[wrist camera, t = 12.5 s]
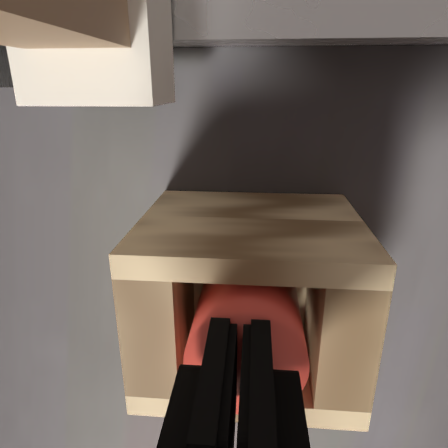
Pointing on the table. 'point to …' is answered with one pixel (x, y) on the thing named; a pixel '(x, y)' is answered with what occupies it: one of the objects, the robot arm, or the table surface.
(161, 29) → the carriage
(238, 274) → the wooden box
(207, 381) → the robot arm
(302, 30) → the rail
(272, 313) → the button
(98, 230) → the table surface
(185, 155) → the table surface
